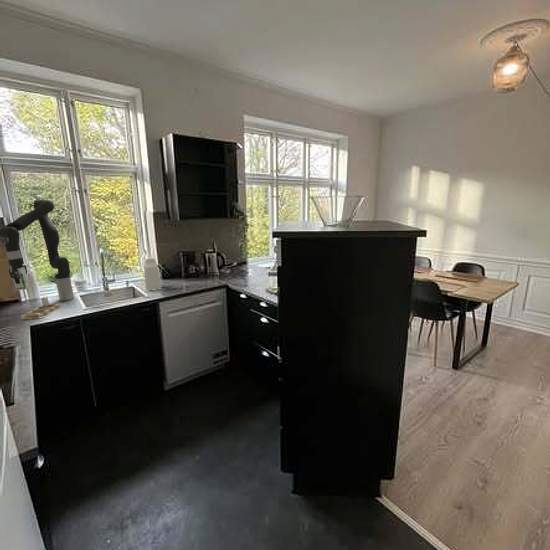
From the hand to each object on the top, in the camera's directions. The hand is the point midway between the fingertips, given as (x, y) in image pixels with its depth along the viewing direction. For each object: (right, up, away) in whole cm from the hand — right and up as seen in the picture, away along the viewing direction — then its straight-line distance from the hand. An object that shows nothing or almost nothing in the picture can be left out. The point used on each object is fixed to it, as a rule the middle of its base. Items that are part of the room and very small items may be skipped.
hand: (21, 282), depth 204 cm
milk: (+68, -7, +54) cm, 87 cm away
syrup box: (0, -5, +1) cm, 5 cm away
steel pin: (+11, -20, +8) cm, 24 cm away
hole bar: (+12, -21, +3) cm, 24 cm away
